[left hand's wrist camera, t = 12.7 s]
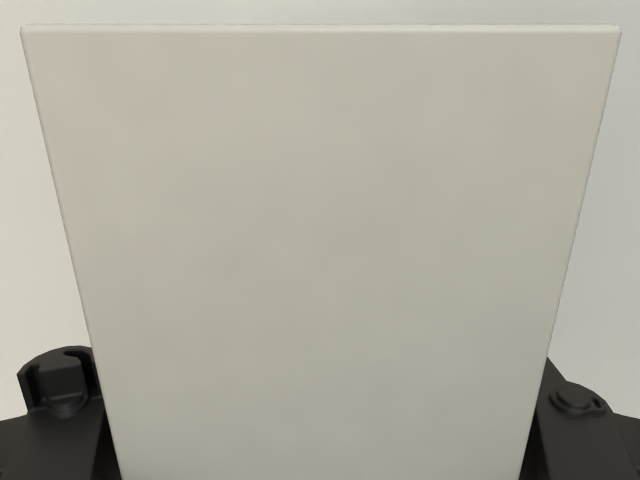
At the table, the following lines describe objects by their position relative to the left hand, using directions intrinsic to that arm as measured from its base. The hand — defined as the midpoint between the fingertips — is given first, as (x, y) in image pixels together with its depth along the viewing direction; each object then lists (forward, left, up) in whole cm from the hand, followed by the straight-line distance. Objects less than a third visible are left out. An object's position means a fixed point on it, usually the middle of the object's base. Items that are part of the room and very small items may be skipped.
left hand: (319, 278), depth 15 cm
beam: (-6, +20, -1) cm, 21 cm away
